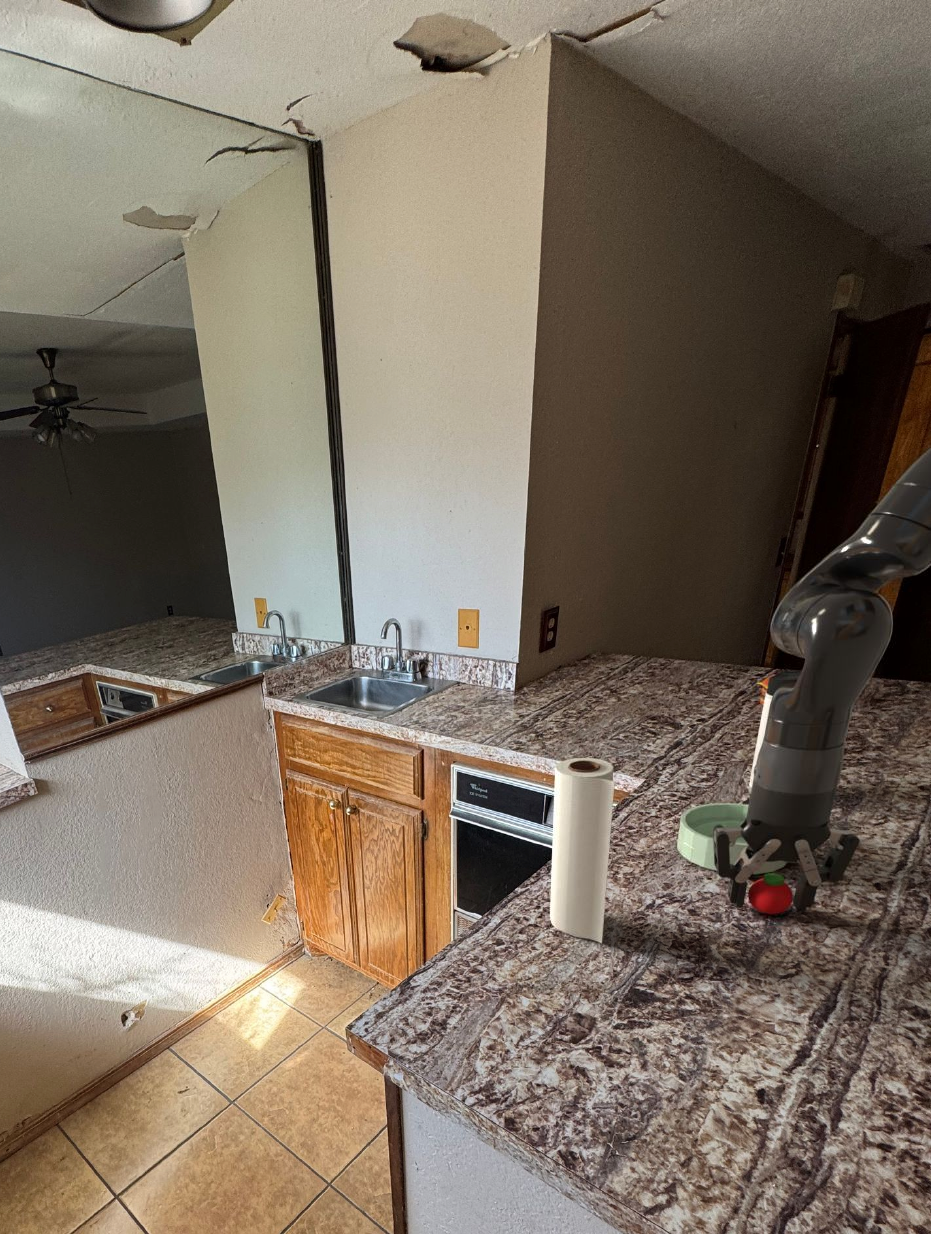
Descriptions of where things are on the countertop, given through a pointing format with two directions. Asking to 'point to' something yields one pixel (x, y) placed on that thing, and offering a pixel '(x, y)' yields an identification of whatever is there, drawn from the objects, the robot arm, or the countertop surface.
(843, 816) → the countertop surface
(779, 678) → the travel mug
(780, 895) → the red tomato
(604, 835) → the paper towel roll
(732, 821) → the bowl
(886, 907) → the countertop surface
